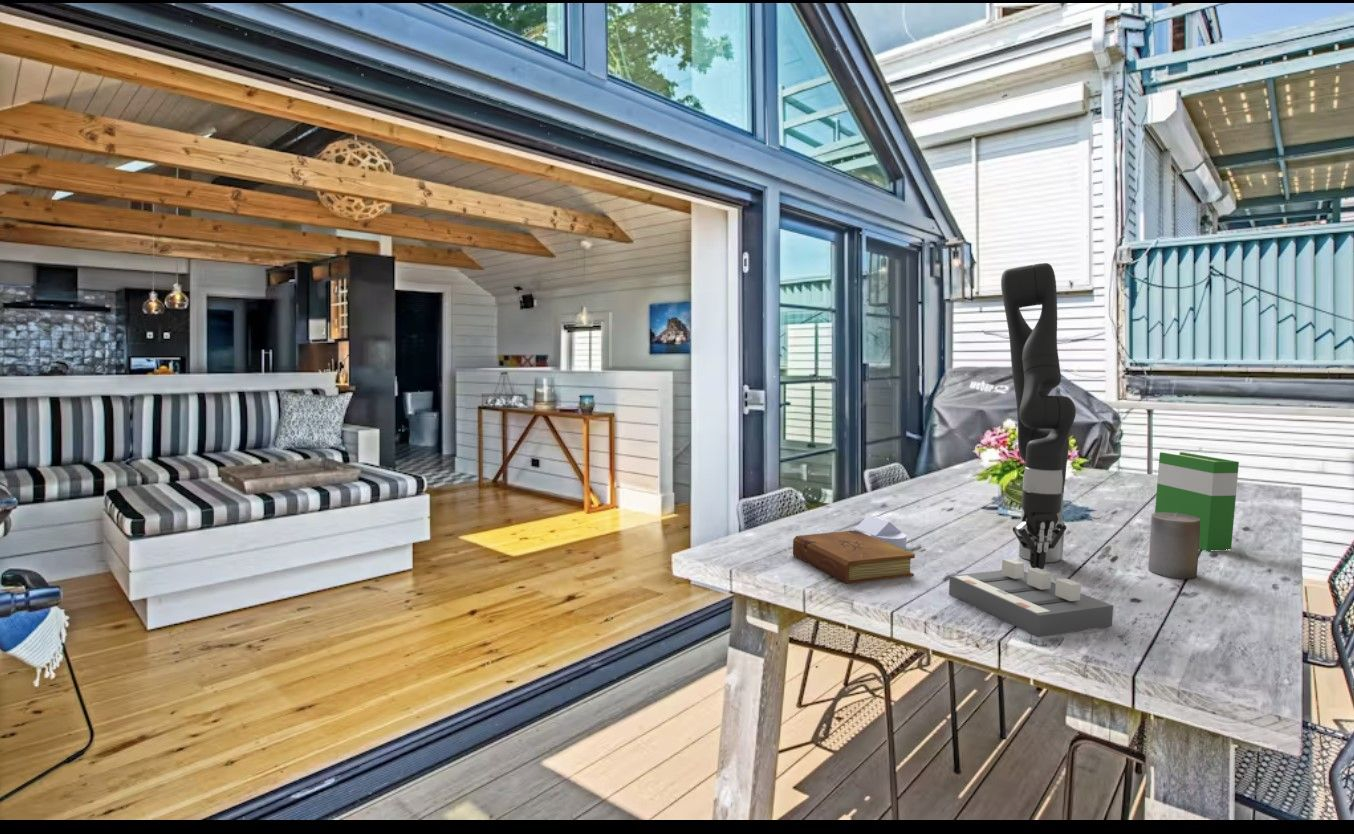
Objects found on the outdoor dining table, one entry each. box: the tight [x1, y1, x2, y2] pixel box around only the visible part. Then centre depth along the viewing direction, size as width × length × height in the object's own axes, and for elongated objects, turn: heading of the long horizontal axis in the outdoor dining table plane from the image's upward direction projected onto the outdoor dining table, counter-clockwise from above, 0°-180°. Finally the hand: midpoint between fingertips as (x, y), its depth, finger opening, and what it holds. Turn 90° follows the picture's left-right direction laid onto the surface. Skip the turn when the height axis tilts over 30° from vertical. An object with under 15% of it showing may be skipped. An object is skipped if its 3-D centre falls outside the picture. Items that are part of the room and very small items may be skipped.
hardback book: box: [1154, 451, 1240, 552], centre depth 199 cm, size 18×7×24 cm, turn 9°
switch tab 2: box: [1027, 567, 1052, 590], centre depth 146 cm, size 2×4×3 cm, turn 19°
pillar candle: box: [1147, 511, 1200, 580], centre depth 171 cm, size 10×10×15 cm
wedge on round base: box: [854, 514, 907, 550], centre depth 193 cm, size 9×7×13 cm
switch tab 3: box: [1055, 577, 1082, 601], centre depth 139 cm, size 2×4×3 cm, turn 19°
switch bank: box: [948, 569, 1114, 638], centre depth 145 cm, size 18×24×4 cm
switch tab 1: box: [1001, 557, 1025, 579], centre depth 153 cm, size 2×4×3 cm, turn 19°
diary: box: [792, 529, 916, 585], centre depth 173 cm, size 23×19×6 cm
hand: (1037, 568), depth 155 cm, fingers closed
